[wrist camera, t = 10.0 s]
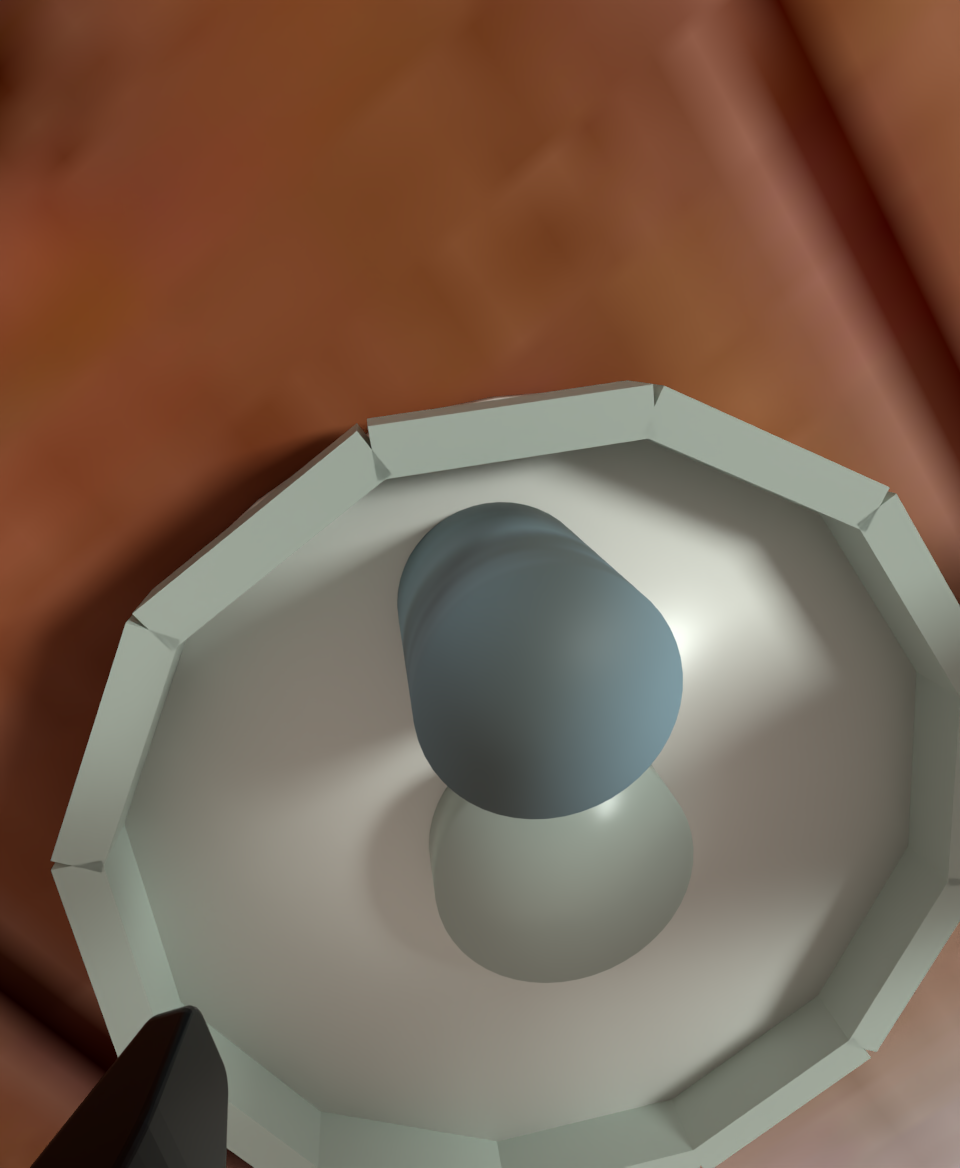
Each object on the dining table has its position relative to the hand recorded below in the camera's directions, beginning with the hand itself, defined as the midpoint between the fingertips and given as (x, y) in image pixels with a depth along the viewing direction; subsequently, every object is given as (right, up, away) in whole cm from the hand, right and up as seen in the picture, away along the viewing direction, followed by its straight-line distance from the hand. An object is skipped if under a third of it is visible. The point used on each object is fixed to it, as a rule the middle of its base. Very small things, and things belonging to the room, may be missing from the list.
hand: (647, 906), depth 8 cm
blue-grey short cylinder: (-1, +3, +9) cm, 10 cm away
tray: (0, -3, +12) cm, 12 cm away
